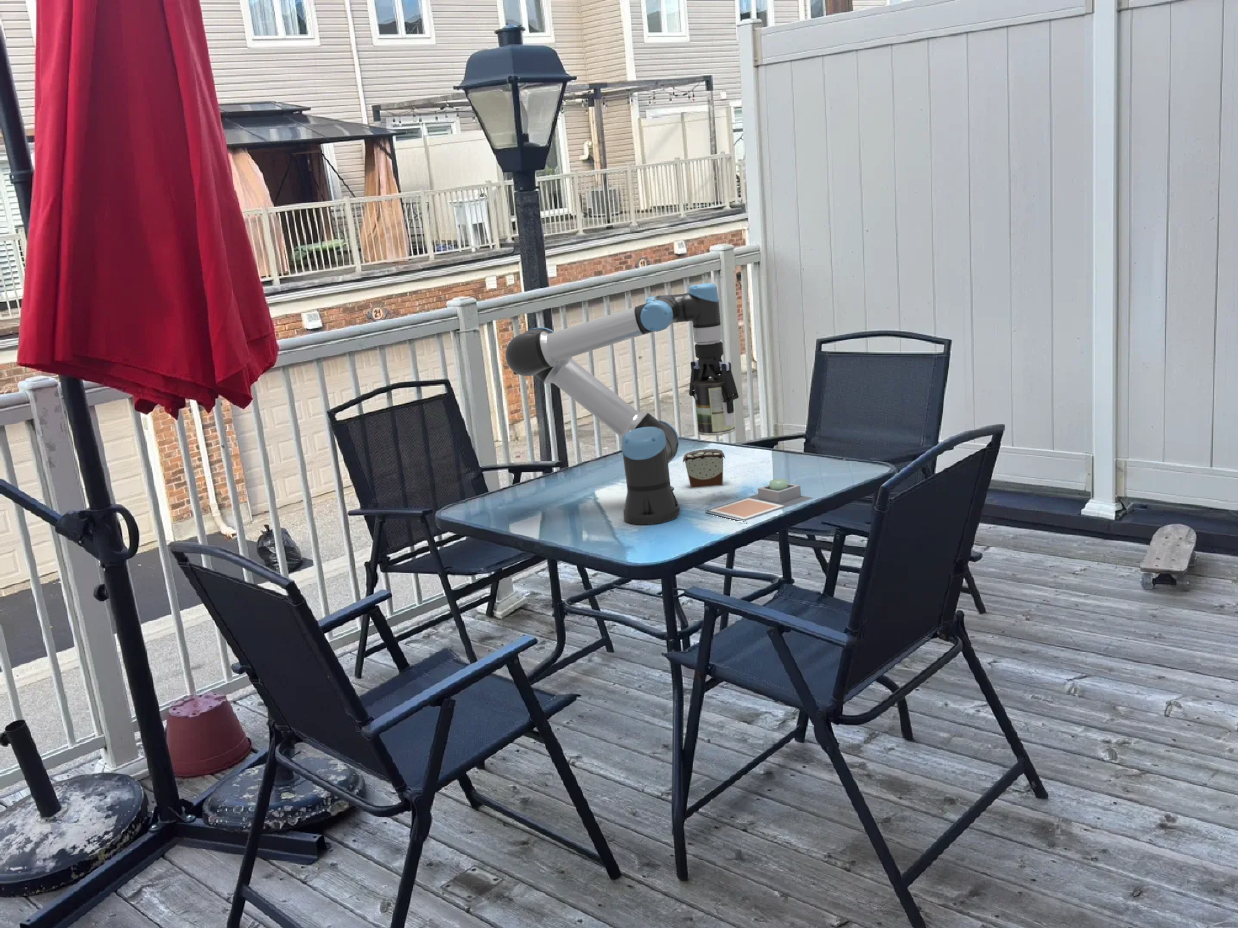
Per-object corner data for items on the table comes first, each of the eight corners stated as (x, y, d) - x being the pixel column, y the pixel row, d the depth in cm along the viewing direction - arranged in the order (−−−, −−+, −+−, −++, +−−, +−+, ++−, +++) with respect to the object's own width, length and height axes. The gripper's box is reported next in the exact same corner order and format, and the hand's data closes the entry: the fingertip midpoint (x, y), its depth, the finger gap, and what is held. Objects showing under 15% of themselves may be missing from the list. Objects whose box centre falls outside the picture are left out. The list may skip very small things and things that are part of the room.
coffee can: (694, 436, 293) (689, 385, 290) (702, 428, 302) (698, 378, 299) (731, 434, 290) (726, 382, 286) (739, 426, 299) (734, 375, 296)
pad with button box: (745, 523, 276) (744, 509, 275) (705, 513, 289) (704, 499, 288) (813, 500, 289) (812, 487, 288) (771, 492, 302) (770, 479, 301)
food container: (728, 479, 321) (724, 446, 319) (728, 485, 315) (724, 451, 313) (686, 483, 323) (683, 450, 320) (685, 488, 317) (682, 455, 314)
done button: (779, 496, 289) (778, 484, 289) (766, 494, 293) (765, 482, 292) (792, 492, 292) (791, 480, 291) (779, 490, 296) (778, 477, 295)
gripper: (747, 340, 284) (754, 424, 289) (691, 338, 301) (699, 417, 306) (726, 345, 279) (734, 429, 284) (670, 343, 297) (678, 422, 302)
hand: (716, 423), depth 295 cm, fingers closed on coffee can, 10 cm apart
